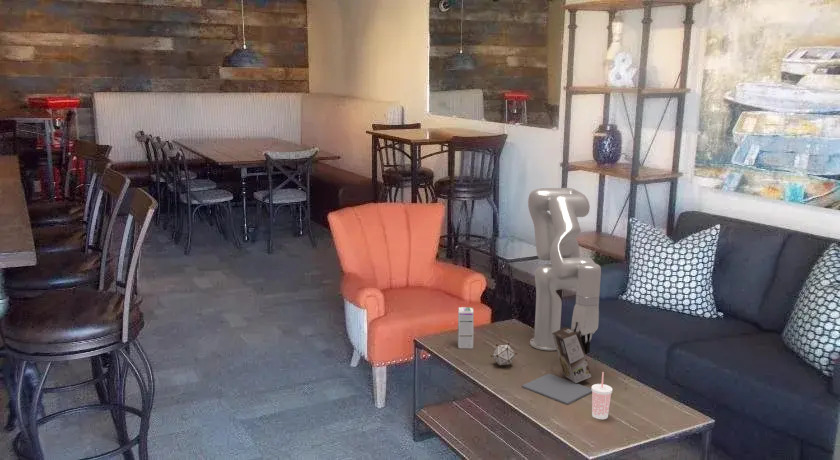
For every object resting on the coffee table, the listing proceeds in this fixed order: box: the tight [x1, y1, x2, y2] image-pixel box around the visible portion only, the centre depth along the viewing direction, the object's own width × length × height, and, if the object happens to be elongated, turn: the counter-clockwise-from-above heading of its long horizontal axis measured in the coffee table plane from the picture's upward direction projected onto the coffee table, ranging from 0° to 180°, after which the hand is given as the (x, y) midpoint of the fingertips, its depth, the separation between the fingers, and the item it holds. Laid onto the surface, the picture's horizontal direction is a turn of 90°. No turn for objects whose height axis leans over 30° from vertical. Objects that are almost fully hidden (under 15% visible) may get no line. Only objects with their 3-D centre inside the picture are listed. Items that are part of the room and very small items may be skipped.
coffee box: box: [552, 326, 592, 384], centre depth 243 cm, size 9×6×16 cm
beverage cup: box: [591, 371, 613, 420], centre depth 217 cm, size 6×6×14 cm
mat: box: [521, 373, 592, 406], centre depth 237 cm, size 15×18×1 cm
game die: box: [490, 342, 518, 368], centre depth 256 cm, size 9×8×10 cm
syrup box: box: [457, 306, 475, 350], centre depth 273 cm, size 6×6×14 cm
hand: (584, 352), depth 245 cm, fingers closed
